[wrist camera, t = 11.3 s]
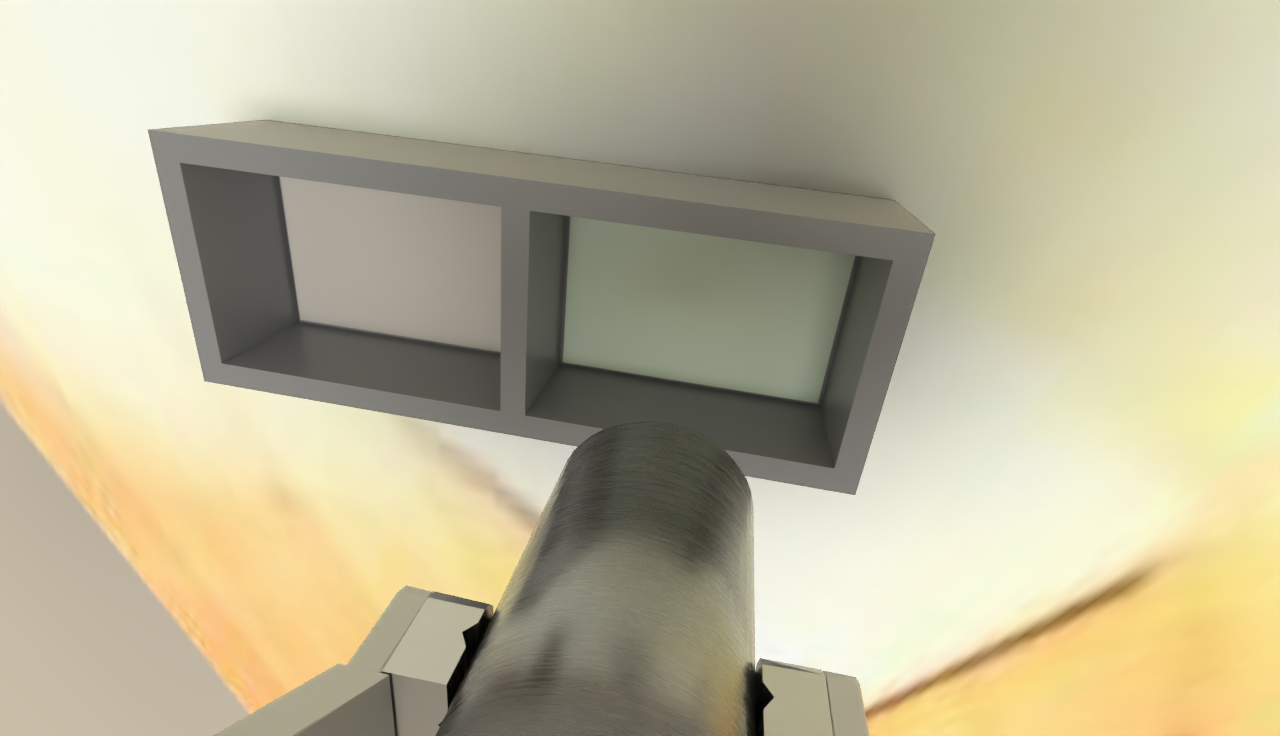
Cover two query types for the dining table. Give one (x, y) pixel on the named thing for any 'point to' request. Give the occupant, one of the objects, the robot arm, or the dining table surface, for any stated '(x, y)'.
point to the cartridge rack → (542, 291)
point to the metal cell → (625, 600)
